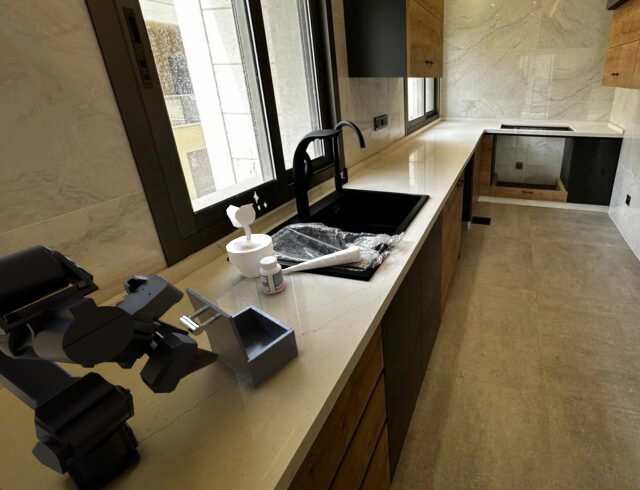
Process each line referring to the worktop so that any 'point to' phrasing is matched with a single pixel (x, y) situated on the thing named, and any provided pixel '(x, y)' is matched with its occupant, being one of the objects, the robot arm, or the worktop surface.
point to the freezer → (258, 345)
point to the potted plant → (247, 242)
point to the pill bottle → (271, 275)
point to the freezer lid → (213, 324)
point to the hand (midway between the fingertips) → (201, 346)
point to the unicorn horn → (329, 260)
